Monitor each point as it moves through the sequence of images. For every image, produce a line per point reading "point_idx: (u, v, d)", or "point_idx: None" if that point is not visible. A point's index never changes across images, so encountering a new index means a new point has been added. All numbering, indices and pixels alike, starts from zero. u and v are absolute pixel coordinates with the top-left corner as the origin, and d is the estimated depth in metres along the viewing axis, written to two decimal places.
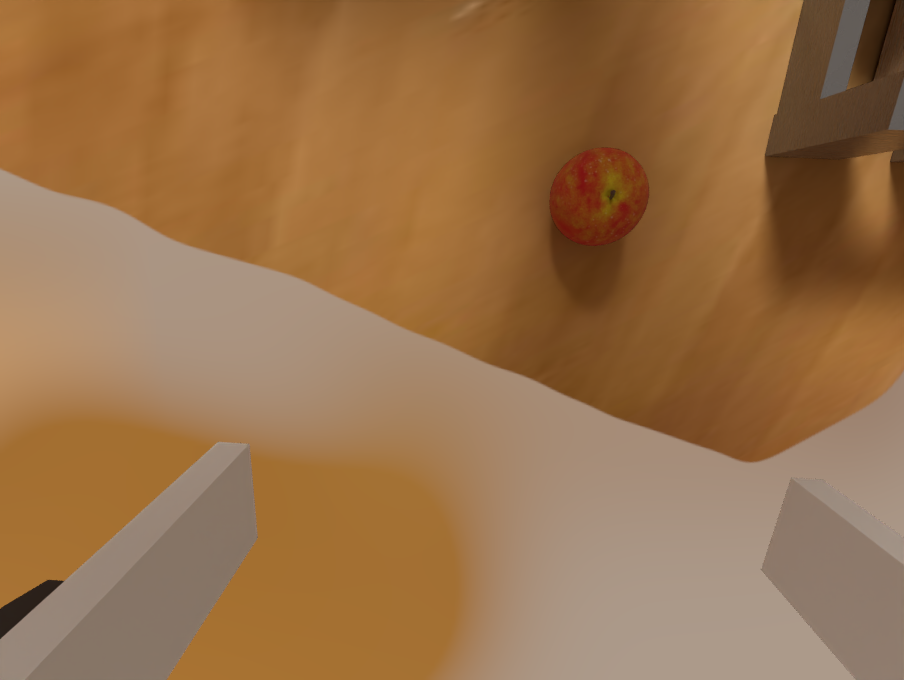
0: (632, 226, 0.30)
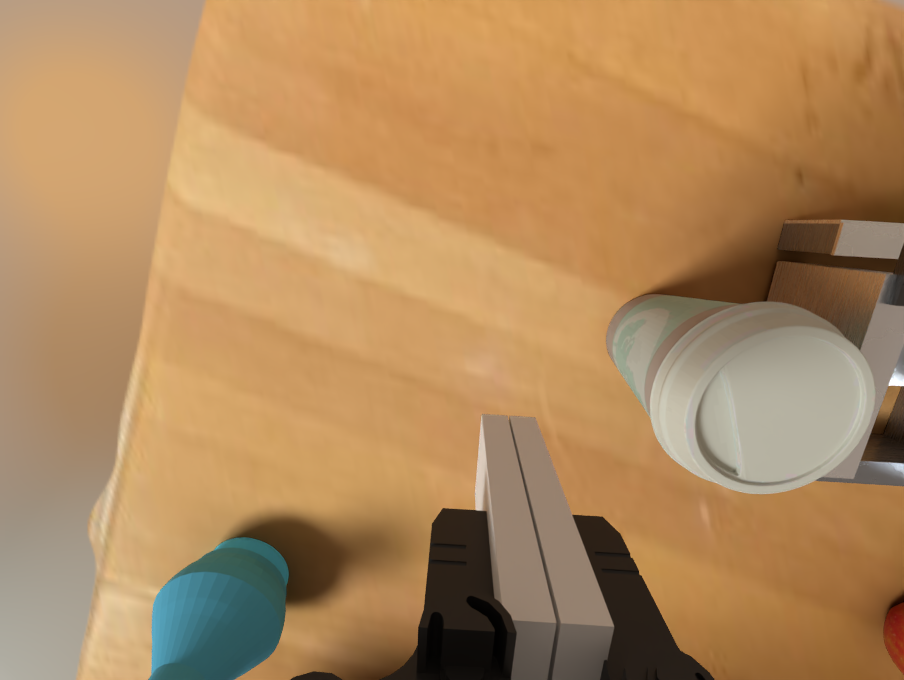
0: None
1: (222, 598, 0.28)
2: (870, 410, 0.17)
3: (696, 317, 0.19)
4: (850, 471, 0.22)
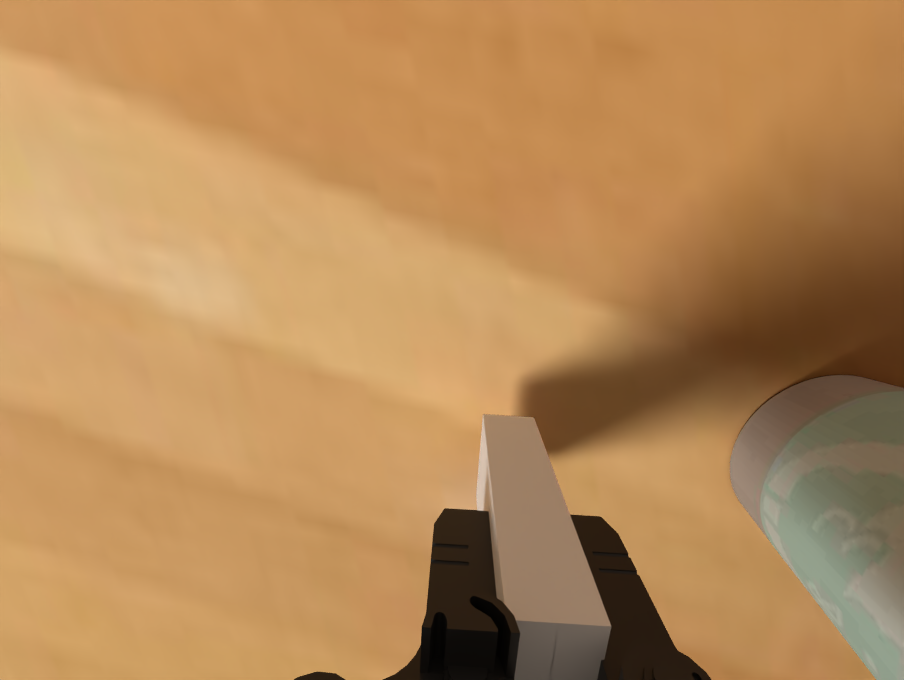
0: None
1: None
2: None
3: None
4: None
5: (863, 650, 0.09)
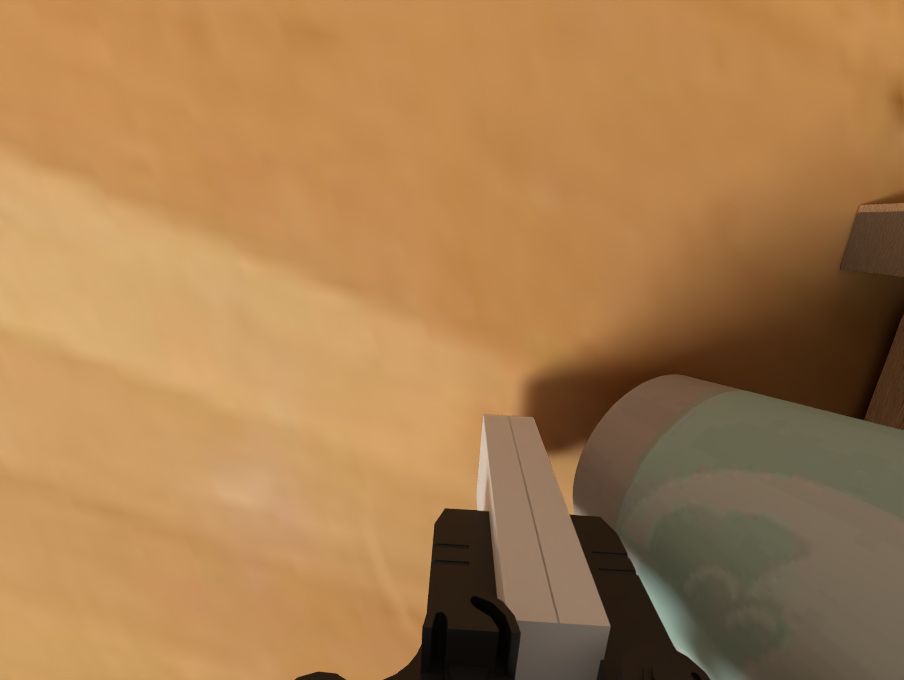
0: None
1: None
2: None
3: None
4: None
5: None
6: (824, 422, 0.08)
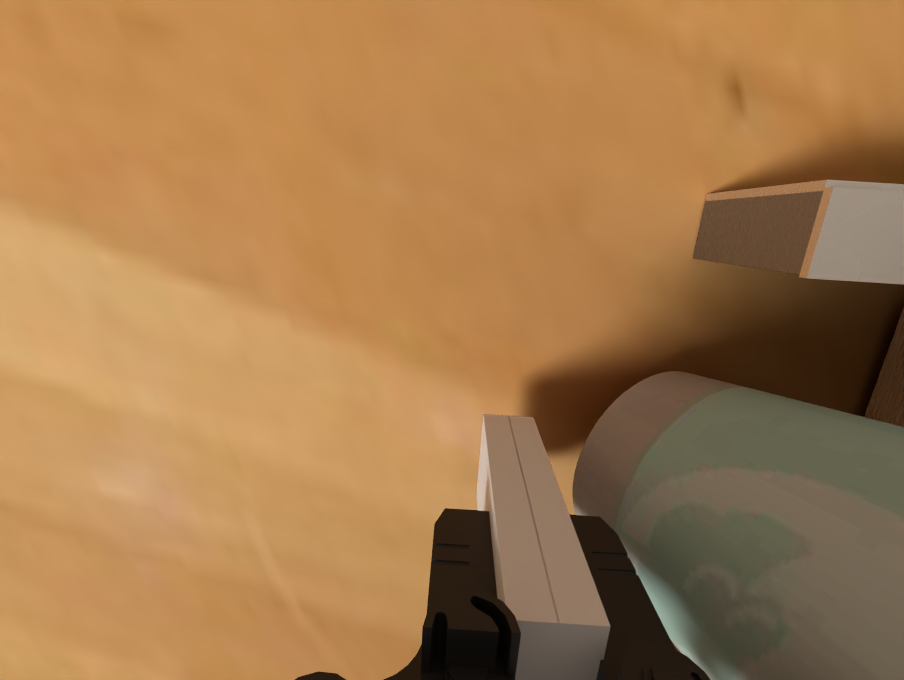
0: None
1: None
2: None
3: None
4: None
5: None
6: (825, 419, 0.08)
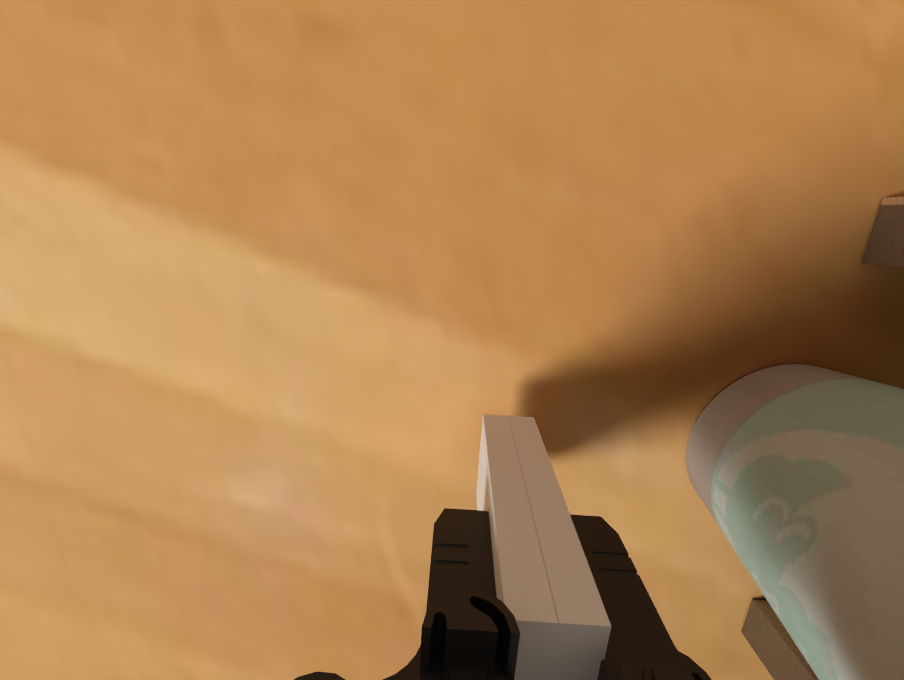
0: None
1: None
2: None
3: None
4: None
5: (797, 640, 0.09)
6: None
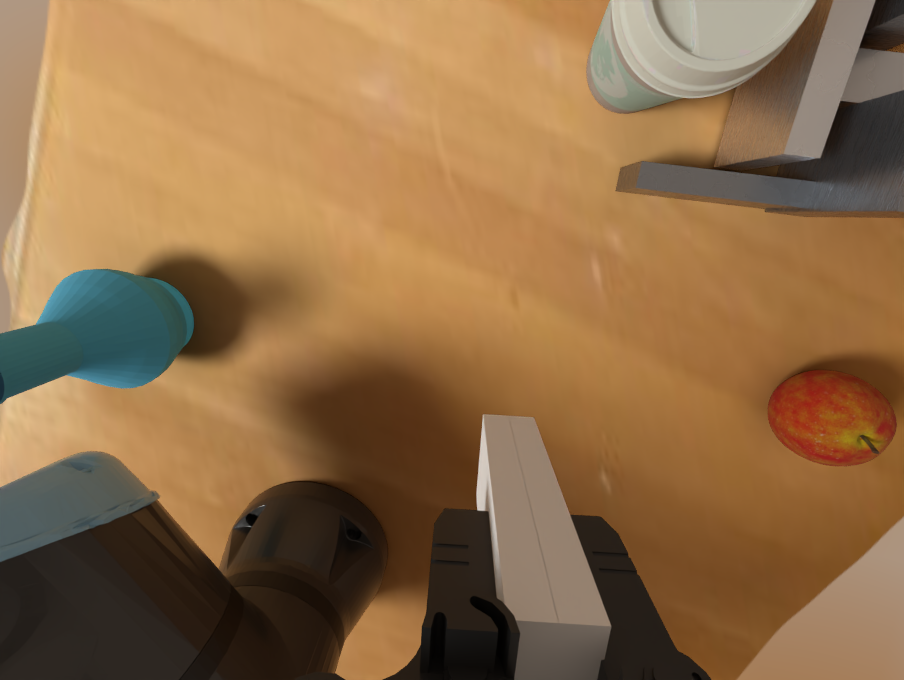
0: (890, 406, 0.28)
1: (108, 288, 0.29)
2: None
3: None
4: (817, 148, 0.23)
5: (602, 59, 0.23)
6: None
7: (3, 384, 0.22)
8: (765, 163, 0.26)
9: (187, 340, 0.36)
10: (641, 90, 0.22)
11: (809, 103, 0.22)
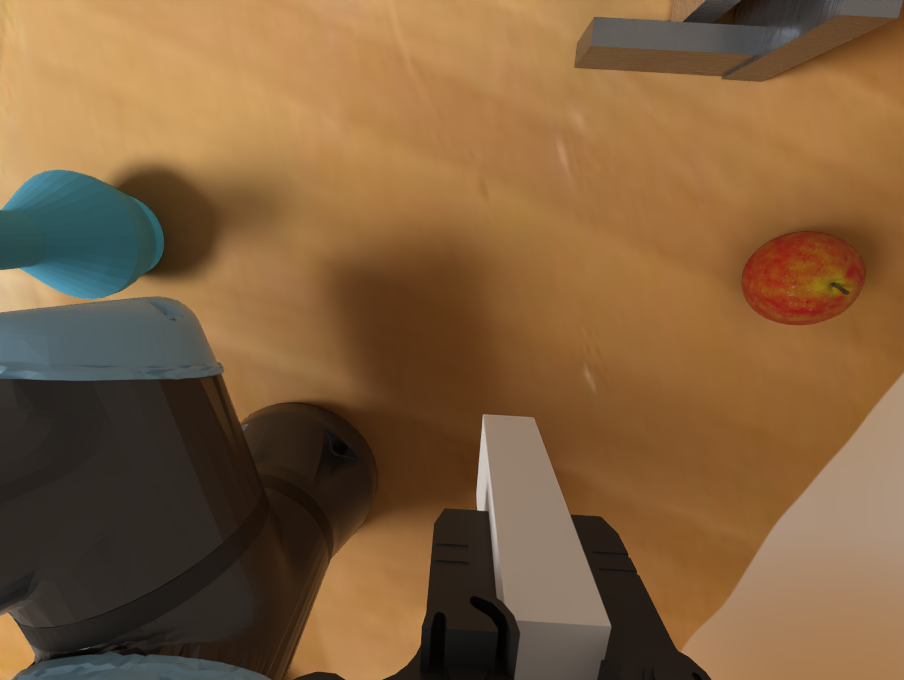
0: None
1: (70, 184, 0.28)
2: None
3: None
4: None
5: None
6: None
7: None
8: (714, 10, 0.26)
9: (158, 257, 0.35)
10: None
11: None
